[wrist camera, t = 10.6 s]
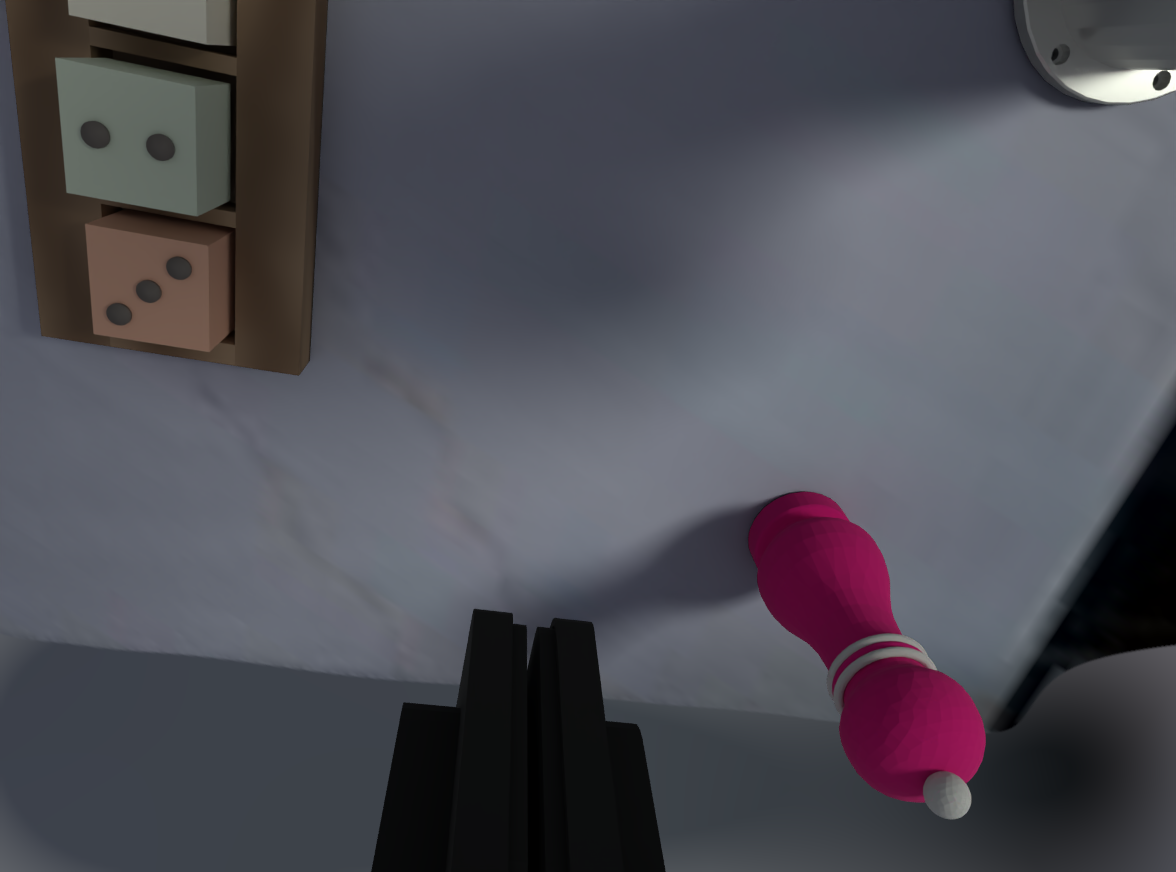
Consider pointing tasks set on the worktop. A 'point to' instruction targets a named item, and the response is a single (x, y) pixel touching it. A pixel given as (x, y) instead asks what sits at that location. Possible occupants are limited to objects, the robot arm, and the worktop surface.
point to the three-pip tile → (161, 279)
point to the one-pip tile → (167, 17)
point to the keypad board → (257, 168)
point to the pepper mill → (867, 654)
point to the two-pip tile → (144, 135)
